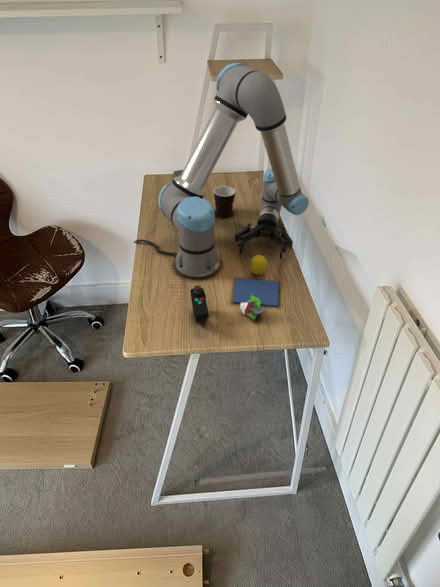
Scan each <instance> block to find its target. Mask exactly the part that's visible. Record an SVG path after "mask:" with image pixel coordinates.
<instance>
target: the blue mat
mask: <svg viewBox="0 0 440 587" xmlns="http://www.w3.org/2000/svg"><path fill="white" fill-rule="evenodd" d="M234 284H235V285H234V291H233V297H232V298H233V300H232V304H239V305H240V303H242V302H246V301H249V298H250V295H251V294H252V295H253V296H255V297H257V298H258V299H262V302H261V305H260V307H262V306H263V305H264V306H263V307H275V308H278V307H279V281H278V280H277V281H276V280H264V279H252V278H251V279H250V278H238V277H236V278H235V283H234Z"/></svg>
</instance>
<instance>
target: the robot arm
mask: <svg viewBox="0 0 440 587" xmlns="http://www.w3.org/2000/svg"><path fill="white" fill-rule="evenodd" d="M275 83H276V82H274V80H273V79H272V78H271V77H270V76H269V75H268V74H267V73H264V72H263V71H260V70H258V69H256V68H254V67H252V66H250V65H248V64H246V63H240V62H233V63H229V64H228V65H226V66H224V67H223V68H222V69H221V71H220V72H219V73H218V76H217V78H216V82H215V87H216V94H215V96H214V98H213V104H214V108H213V111H212V113H211V115H210V116H209V119H208V120H207V122H206V124H205V127H204V129H203V131H202V133H201V134H200V136H199V138H198V140H197V142H196V144H195V146H194V148H193V150H192V152H191V154H190V156H189V158H188V160H187V162H186V164H185V165H184V168H183V169H182V170H183V172H182V174H181V175H180V176H177V177H175V178H174V179H173V178H172V180H173V181H171V182H169V183H168V184H165V185H164V186H162V188H161V190H160V192H159V194H158V199H157V201H158V202H157V203H158V206H159V209H160V210H161V212H162V214H163V215H164V217H165V218H166V219H167V220H168V221H169V222H170V223H171V224H172V225H173V227H174V228H175V229H176V230H177V232H178V244H179V246H178V250H177V252H175V251H174V252H172V251H171V252H170V251H164V250H161V249H159V248H158V245H157V244H156V243H154V242H152V241H150V240H147V239H142V238H141V239H136V240H134V241H133V244H136V243H141V242H143V243H147V244H149V245H151V246H154V249H155V251H156V252H157V253H160V254H165V255H172V256H175V259H174V266H175V270H176V271H177V273H179V275H181V276H183V277H185V278H188V279H192V280H193V279H196V280H199V279H206V278H209V277H212V276H213V275H215V274H216V273H217V272H218V271H219V269H220V264H221V263H220V262H221V261H220V257H219V255H218V252H217V248H216V247H215V222H216V215H215V214H216V213H215V209H214V206H213V204H212V203H211V202H210V201H209V200H207V199H206V198H204V197H205V194H206V193H205V190H204V187H205V185H206V183H207V182H208V181H209V178H210V176H211V174H212V173H213V170H214V168H216V165H217V163H218V161H219V159H220V157H221V155H222V153H223V152H224V150H225V148H226V147H227V144H228V142H229V141H230V139H231V138H232V135H233V133H234V131H235V129H236V128H237V126H238V124H239V123H240V122H242V121H245V120H246V119H247V117H248V116H249V117H250V118H251V120H252V122H253V123H254V127H255V129H256V130H257V131H258V132H260V135H261V138H262V141H263V144H264V148H265V151H266V155H267V158H268V161H269V164H270V167H271V168H268V169H266V170H265V171H264V173H263V180H262V192H261V194H262V195H261V203H260V211H259V214H258V217H257V222H256V224H255V226H254V225H252V223H247V225H246V226H245V227H244V228H242V229H241V230H239V231H238V232H237V233H235V234H234V242H236V243H237V247H238V248H239V252H238V253H239V255H240V256H242V255H243V252H244V251H243V250H244V247H245V244H246V242H249V241H250V240H252V239H258V238H267V239H269V238H270V239H271V240H272V241H275V243H277V244H278V245H279V246H280V252H279V257H278V258H279V260H283V254H284V253H285V254H286V253H287V250H288V249H292V248H293V243H294V241H293V239H292V238H291V236H290V235H289V233H287V231H286V227H282V228H280V229H279V228H278V226H279V225H278V224H279V218H280V213H281V209H282V207H283V208H284V209H285V210H286V211H287V212H289V213H291V215H294V216H300V215H302V214H303V213H305V212H306V210H307V209H308V207H309V205H310V204H309V203H310V201H309V197H307V196H306V194H304V193H303V192H302V189H301V186H300V181H299V178H298V173H297V170H296V165H295V161H294V157H293V154H292V149H291V145H290V141H289V137H288V133H287V129H286V128H287V127H286V124H285V123H286V121H287V114H286V109H285V106H284V102H283V99H282V97H281V93H280V91H279V89H278V87H277V85H276V84H275Z"/></svg>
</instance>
